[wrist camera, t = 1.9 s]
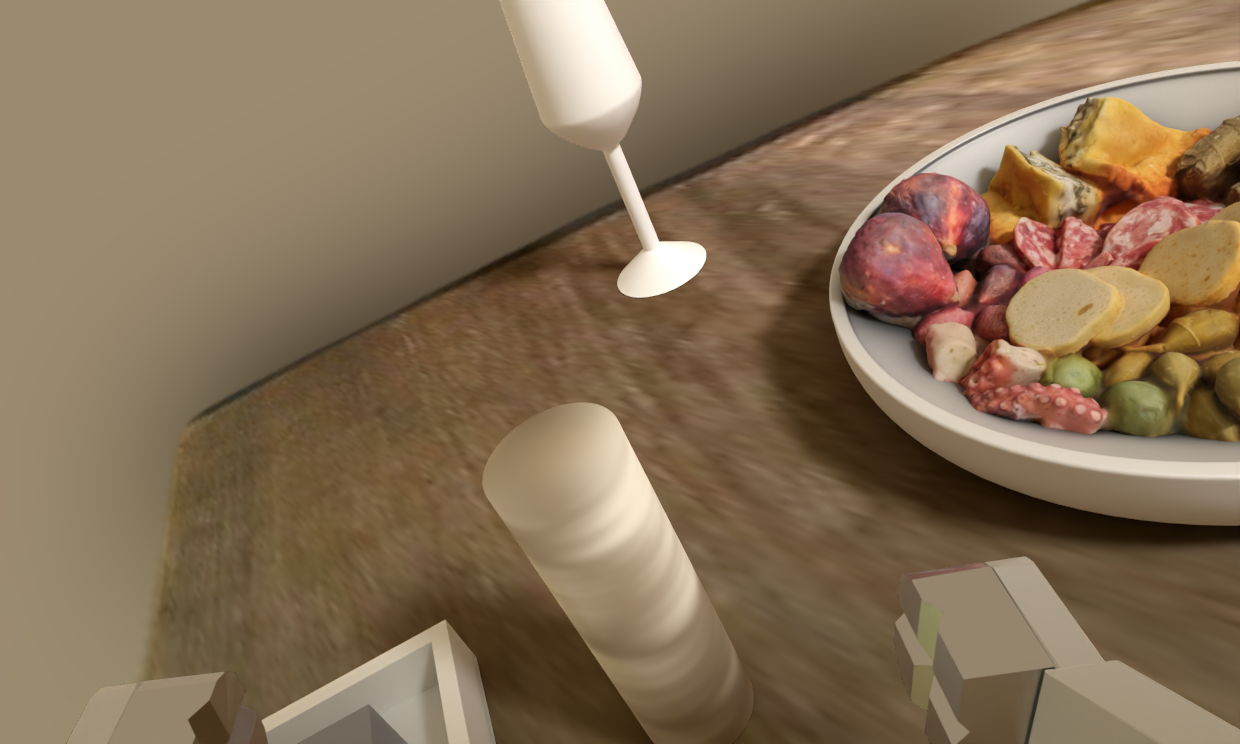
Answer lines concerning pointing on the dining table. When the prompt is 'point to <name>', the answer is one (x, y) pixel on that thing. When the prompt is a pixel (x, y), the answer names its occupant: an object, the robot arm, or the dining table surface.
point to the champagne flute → (595, 115)
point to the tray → (395, 699)
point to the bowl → (1066, 298)
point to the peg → (620, 572)
